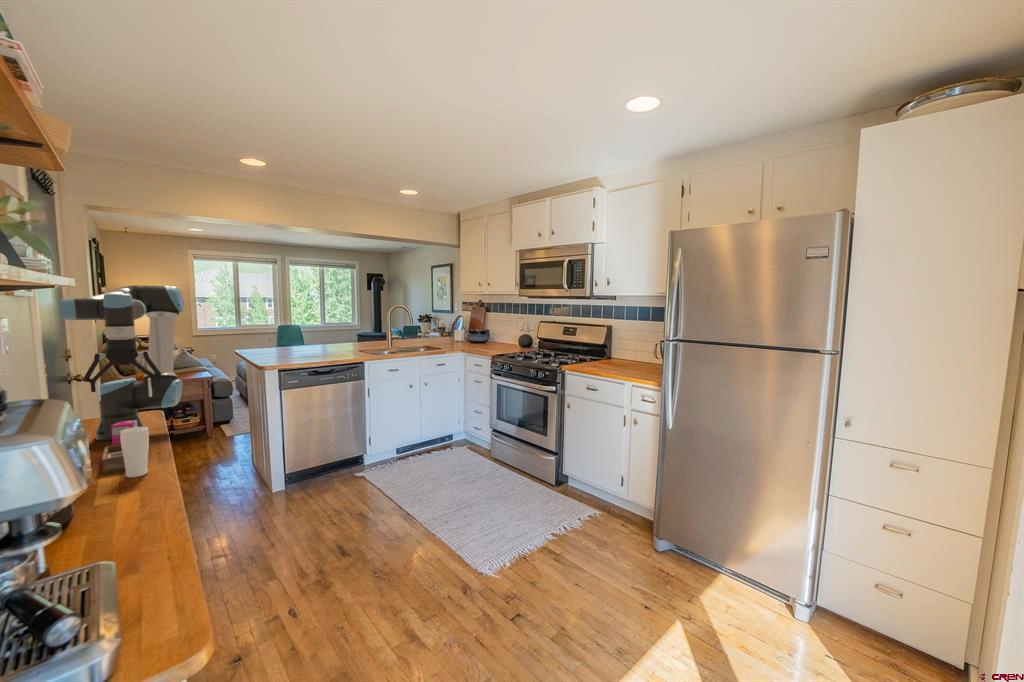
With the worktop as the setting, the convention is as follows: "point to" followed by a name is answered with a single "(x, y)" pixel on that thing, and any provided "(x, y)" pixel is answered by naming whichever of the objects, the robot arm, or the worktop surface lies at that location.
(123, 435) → the white cup
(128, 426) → the supplement box
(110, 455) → the crate
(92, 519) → the worktop surface
